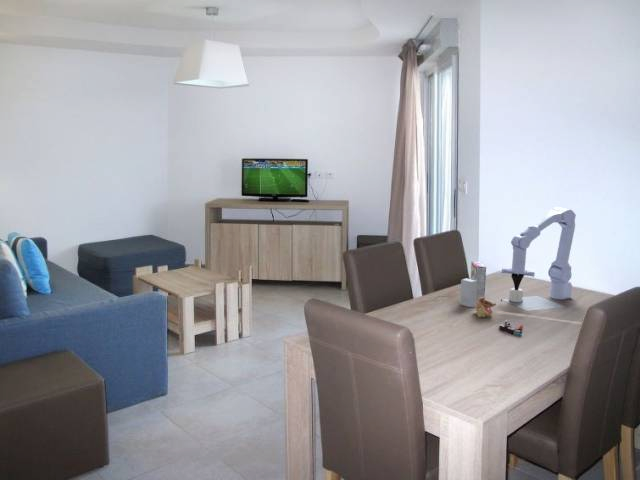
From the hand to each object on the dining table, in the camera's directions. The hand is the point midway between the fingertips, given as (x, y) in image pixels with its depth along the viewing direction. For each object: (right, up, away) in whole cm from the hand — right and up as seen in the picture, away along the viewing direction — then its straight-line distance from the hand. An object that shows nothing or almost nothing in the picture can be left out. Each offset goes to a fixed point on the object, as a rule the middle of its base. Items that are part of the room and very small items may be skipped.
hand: (516, 289), depth 286 cm
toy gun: (-13, -14, -38) cm, 43 cm away
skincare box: (-24, -7, -4) cm, 25 cm away
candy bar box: (-16, -5, +10) cm, 20 cm away
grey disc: (0, -6, +1) cm, 7 cm away
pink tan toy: (-21, -10, -19) cm, 30 cm away
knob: (0, -5, +1) cm, 5 cm away
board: (+7, -7, -2) cm, 10 cm away
